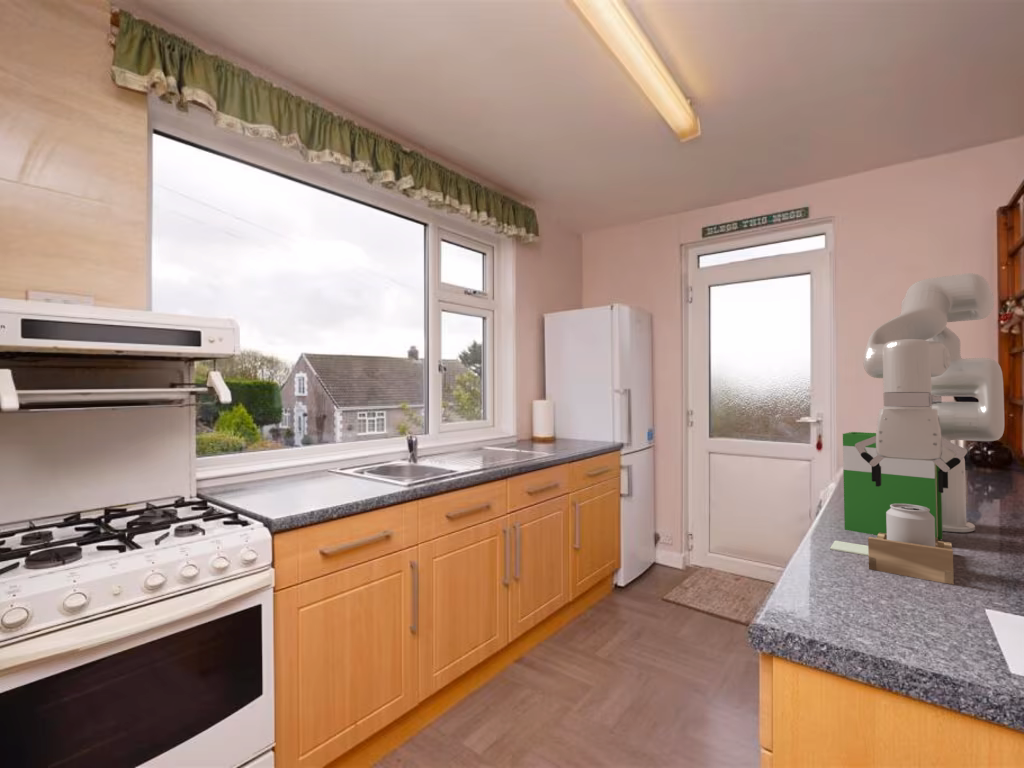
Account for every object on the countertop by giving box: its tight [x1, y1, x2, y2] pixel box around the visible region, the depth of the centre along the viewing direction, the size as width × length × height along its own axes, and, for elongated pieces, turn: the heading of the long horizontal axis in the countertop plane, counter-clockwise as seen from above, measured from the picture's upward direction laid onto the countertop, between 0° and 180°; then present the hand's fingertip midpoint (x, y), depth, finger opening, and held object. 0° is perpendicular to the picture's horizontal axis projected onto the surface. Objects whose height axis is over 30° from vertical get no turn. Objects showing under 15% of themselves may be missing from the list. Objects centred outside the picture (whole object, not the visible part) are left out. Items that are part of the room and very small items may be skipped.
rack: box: [867, 533, 955, 586], centre depth 101 cm, size 21×12×6 cm, turn 139°
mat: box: [829, 540, 869, 557], centre depth 109 cm, size 7×7×1 cm
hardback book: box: [842, 431, 944, 540], centre depth 120 cm, size 18×7×24 cm, turn 41°
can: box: [886, 504, 935, 547], centre depth 98 cm, size 8×8×12 cm
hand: (908, 488), depth 98 cm, fingers open, 9 cm apart
